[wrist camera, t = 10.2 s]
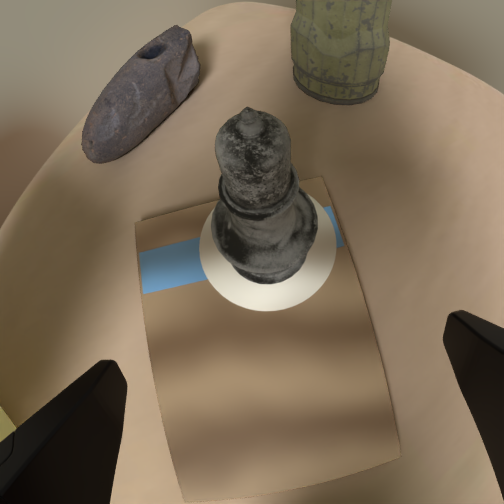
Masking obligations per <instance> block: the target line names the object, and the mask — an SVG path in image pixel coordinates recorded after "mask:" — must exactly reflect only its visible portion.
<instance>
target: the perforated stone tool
mask: <svg viewBox="0 0 504 504" xmlns="http://www.w3.org/2000/svg"><path fill="white" fill-rule="evenodd" d="M199 74H200V63H199V61H198V56H197V55H196V52H195V49H194V47H193V45H192V37H191V34H190V32H189V31H188V30H186V29H183V28H181V27H179V26H178V25H174V26H173V27H171V28H169V29H168V30H166V31H165V32H163V33H162V34H161V35H159V36H157V37H156V38H154V39H153V40H151V41H150V42H149V43H147V44H146V45H145V46H143V47H142V48H141V49H140V50H138V51H137V52H136V53H135V54H134V55H133V56H132V57H131V58H130V59H129V60H128V61H127V62H126V63H125V64H124V65H123V66H122V67H121V68H120V70H119V71H118V72H117V73H116V74H115V76H114V77H113V78H112V80H111V81H110V82H109V83H108V84H107V86H106V87H105V88H104V90H103V91H102V92H101V94H100V96H99V97H98V99H97V100H96V102H95V103H94V105H93V107H92V109H91V110H90V113H89V115H88V117H87V119H86V122H85V125H84V129H83V131H82V132H83V133H82V144H81V145H82V149H83V151H84V153H85V154H86V157H87V158H88V159H89V160H90V161H92V162H93V163H99V164H100V163H106V162H110V161H112V160H115V159H117V158H119V157H120V156H122V155H124V154H125V153H127V152H129V151H130V150H131V149H133V148H134V147H135V146H137V145H138V144H139V143H140V142H141V141H142V140H143V139H144V138H145V137H146V136H147V135H148V134H149V133H150V132H151V131H152V130H153V129H154V128H156V127H157V126H158V125H159V124H160V123H161V122H162V121H163V120H164V119H165V118H166V117H167V116H169V115H170V114H171V113H172V112H173V111H174V110H175V109H176V108H177V107H178V106H179V105H180V103H181V102H182V101H183V100H184V99H185V98H186V97H187V95H188V93H189V92H190V91H191V90H192V89H193V88H194V87H195V85H197V84H198V82H199V79H198V77H199Z"/></svg>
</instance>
